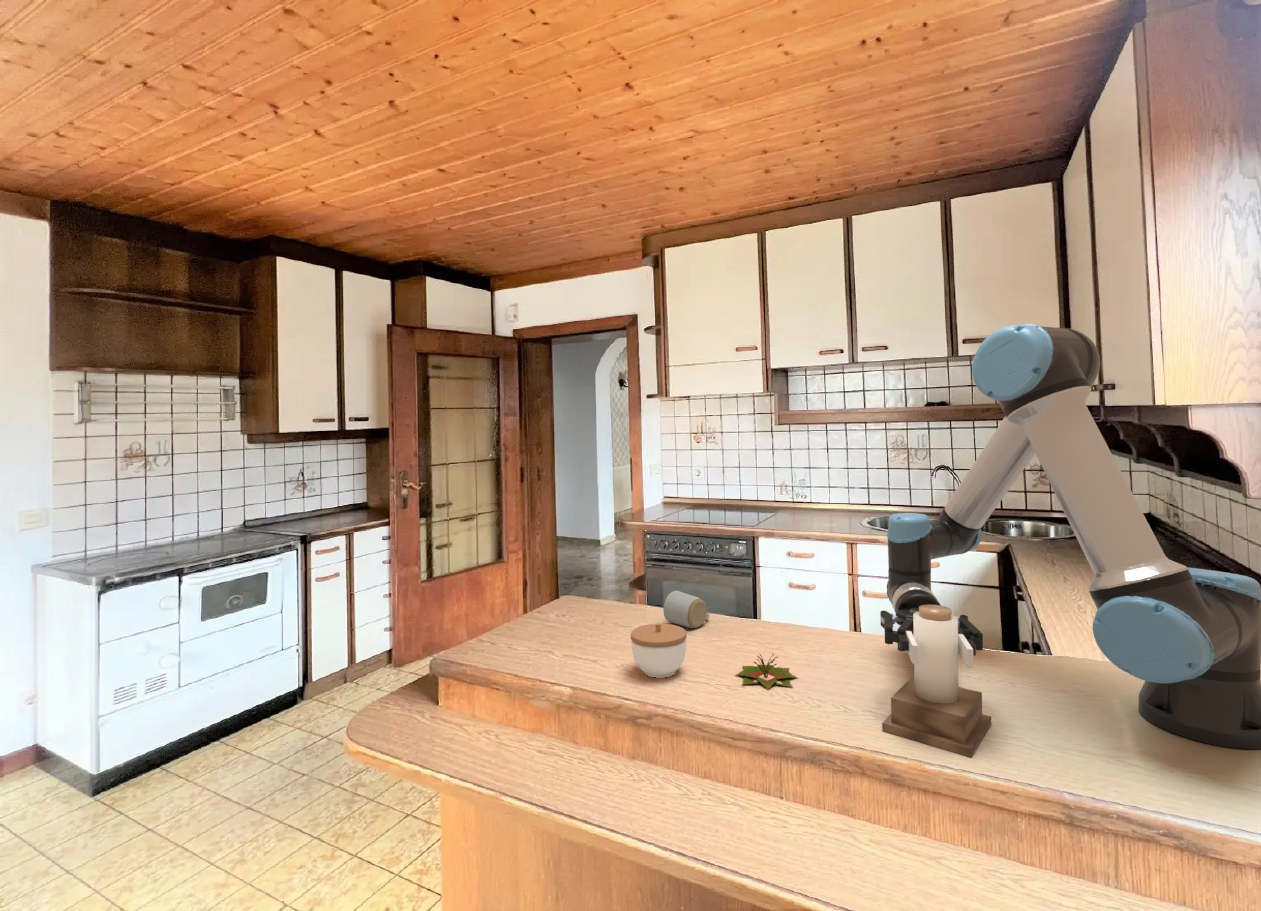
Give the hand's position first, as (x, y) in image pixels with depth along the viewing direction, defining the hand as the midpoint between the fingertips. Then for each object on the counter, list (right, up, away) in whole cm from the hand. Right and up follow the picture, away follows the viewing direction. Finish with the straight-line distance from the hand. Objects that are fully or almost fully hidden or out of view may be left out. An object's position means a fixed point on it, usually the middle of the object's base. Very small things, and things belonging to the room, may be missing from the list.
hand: (942, 656), depth 87 cm
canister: (+2, -8, +5) cm, 9 cm away
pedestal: (+2, -13, +5) cm, 14 cm away
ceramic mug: (-31, -12, +59) cm, 67 cm away
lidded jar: (-39, -13, +30) cm, 51 cm away
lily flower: (-19, -13, +26) cm, 35 cm away
